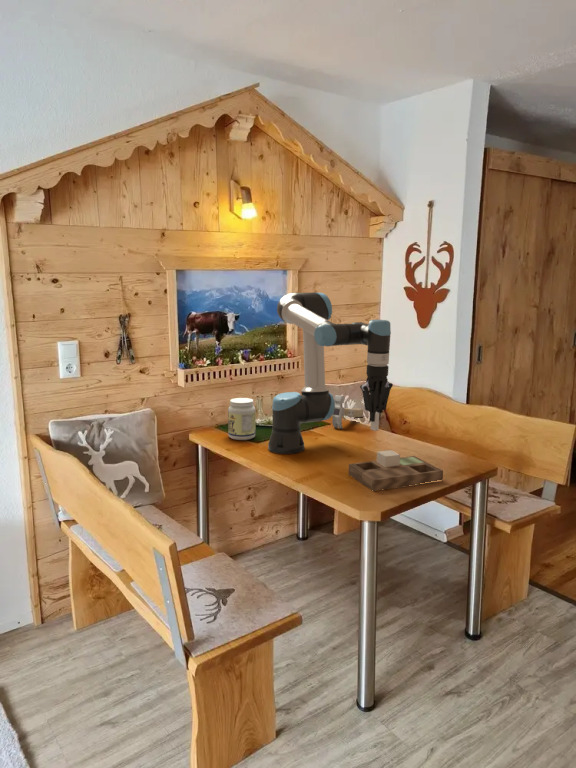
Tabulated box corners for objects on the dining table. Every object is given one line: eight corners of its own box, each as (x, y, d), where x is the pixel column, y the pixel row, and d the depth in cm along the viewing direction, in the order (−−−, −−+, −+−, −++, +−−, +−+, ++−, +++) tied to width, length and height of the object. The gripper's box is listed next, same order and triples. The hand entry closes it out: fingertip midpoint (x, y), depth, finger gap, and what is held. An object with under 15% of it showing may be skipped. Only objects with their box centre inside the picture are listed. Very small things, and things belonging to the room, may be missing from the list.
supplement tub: (224, 435, 259) (223, 398, 256) (249, 432, 264) (248, 396, 261) (234, 442, 248) (234, 404, 245) (259, 438, 253) (259, 401, 250)
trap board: (373, 491, 192) (373, 480, 191) (348, 474, 208) (348, 464, 208) (442, 481, 202) (443, 470, 201) (413, 465, 218) (414, 455, 218)
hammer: (356, 397, 295) (333, 394, 268) (365, 398, 293) (342, 395, 266) (353, 427, 295) (329, 427, 268) (361, 429, 292) (338, 429, 266)
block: (385, 467, 204) (385, 456, 204) (376, 462, 210) (377, 451, 209) (399, 465, 207) (399, 454, 206) (390, 460, 212) (391, 450, 211)
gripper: (369, 367, 192) (366, 434, 197) (399, 364, 198) (395, 430, 203) (356, 364, 198) (353, 429, 203) (385, 361, 205) (382, 425, 209)
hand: (374, 429), depth 203 cm, fingers closed
